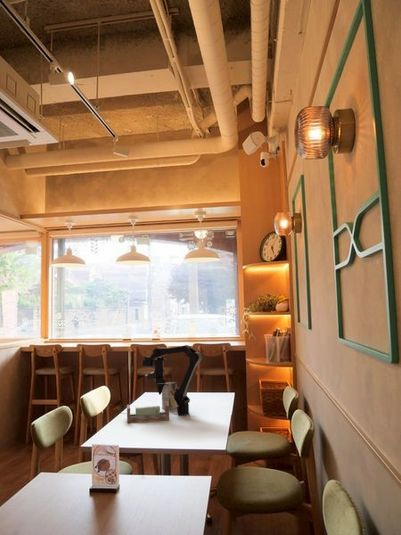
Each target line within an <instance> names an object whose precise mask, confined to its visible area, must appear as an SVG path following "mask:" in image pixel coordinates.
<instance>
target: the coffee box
mask: <svg viewBox="0 0 401 535" xmlns="http://www.w3.org/2000/svg"><path fill="white" fill-rule="evenodd" d="M178 387H179V386H178V381H177V382H176V381H175V382H174V381H169V382H165V385H164V387H163V390H162V392H161V405H162V407H161V408H162V410H165V403H168V405H169V411H170V410H172V409H175V408H176V409H177V406H178V405H177V403H176V401H175V399H174V393H175V390H176V388H178Z"/></svg>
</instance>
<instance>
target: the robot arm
mask: <svg viewBox="0 0 401 535" xmlns="http://www.w3.org/2000/svg"><path fill="white" fill-rule="evenodd" d="M177 353H184V354H185V355H186V356H187V357H188V358H189V360H188V366H187V369H186V372H185V374H184V376H183V379H182V382H181V385H180V386H178V388H176V390H175V393H174V399H175V401H176V403H177V405H178V406H177V407H176V413H177V415H178V416H181V417H182V416H190V407H189V406H190V402H191V399H190V397H189V396H188V387H189V385H190V382H191V380H192V379H193V378H192V377H193V376H194V373H195V370H196V368H197V367H198V365H199V364H200V363H201V361H202V359H203V355H202V353H201V352H199V351H197V350H196V349H193V348H192V347H191V346H190V345H188V344H185V345H180V346H174V347H162V346H161V347H156V348H154V349H153V351H152V354H151V355H150V356H148V355H147V356H144V357H143V361H142V367H143V368H154V369H153V371H152V372H149V373H147V374H144V375H145V378H146V381H150V380H152V379H153V382H154V383H155V386H156V389H157V393H158V394H159V395H162V390H163V387H164V385H165V383H166V379H165V374H164V371H165V370H164V365H165V364H164V362H165V361H167V358H166V357H165V356H166V355H171V354H177Z"/></svg>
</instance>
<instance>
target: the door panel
mask: <svg viewBox="0 0 401 535" xmlns="http://www.w3.org/2000/svg"><path fill="white" fill-rule="evenodd" d="M160 412H161V406H160V405H155V406H138V407H137V406H136V407H135V414H136V416H150V415H160Z"/></svg>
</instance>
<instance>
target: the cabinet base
mask: <svg viewBox="0 0 401 535" xmlns="http://www.w3.org/2000/svg"><path fill="white" fill-rule="evenodd" d="M126 419H127V420H126V422H127V424H134V423H135V424H136V423H145V422H146V423H149V422H151V423H152V422H164V421H170V410H169V405H168V403H165V409H164V411H162V412H161V411H160V415H150V416H136V413H131V405H130V404H127V405H126Z"/></svg>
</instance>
